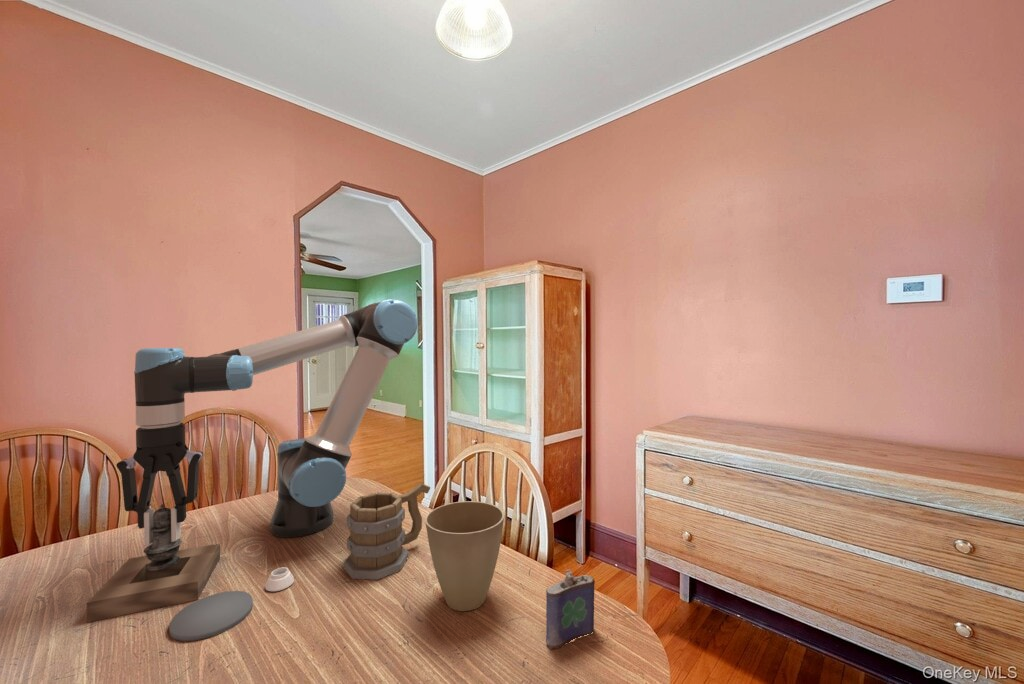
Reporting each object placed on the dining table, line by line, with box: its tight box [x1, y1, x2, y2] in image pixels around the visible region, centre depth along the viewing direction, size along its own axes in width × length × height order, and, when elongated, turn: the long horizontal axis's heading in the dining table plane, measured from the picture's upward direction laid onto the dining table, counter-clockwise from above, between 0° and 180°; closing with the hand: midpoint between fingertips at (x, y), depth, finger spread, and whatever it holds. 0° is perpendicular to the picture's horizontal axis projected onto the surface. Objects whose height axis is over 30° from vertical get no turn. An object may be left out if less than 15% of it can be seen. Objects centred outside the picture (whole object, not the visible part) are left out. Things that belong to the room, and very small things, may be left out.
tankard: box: [342, 482, 431, 581], centre depth 93 cm, size 20×13×15 cm, turn 131°
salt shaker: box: [143, 503, 183, 571], centre depth 83 cm, size 6×6×12 cm
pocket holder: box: [86, 543, 221, 623], centre depth 83 cm, size 16×16×4 cm
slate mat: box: [168, 590, 254, 642], centre depth 73 cm, size 12×12×1 cm
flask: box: [545, 569, 596, 650], centre depth 68 cm, size 9×3×11 cm, turn 117°
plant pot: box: [424, 500, 505, 612], centre depth 78 cm, size 15×15×16 cm
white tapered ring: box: [264, 566, 295, 592], centre depth 83 cm, size 5×3×5 cm
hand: (163, 540), depth 83 cm, fingers closed on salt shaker, 3 cm apart
